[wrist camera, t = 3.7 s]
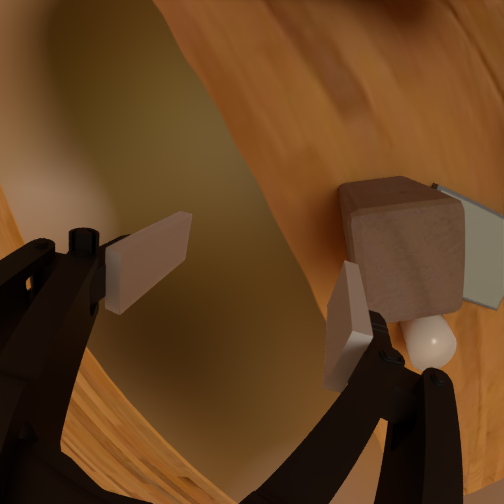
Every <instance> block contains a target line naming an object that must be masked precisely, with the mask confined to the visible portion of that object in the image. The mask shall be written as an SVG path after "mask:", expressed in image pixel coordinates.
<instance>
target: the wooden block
mask: <svg viewBox="0 0 504 504" xmlns="http://www.w3.org/2000/svg"><path fill="white" fill-rule="evenodd" d="M338 195H339V201H340V207H341V214H342V221H343V228H344V236H345V244H346V251H347V257H348V262H352V263H355V264H358V266H359V270H360V274H361V279H362V283H363V288H364V292H365V297H366V302H367V307H368V310H371V311H375V312H378V313H380V314H381V315H382V317H383V318H384V319H385V321H386V323H392V322H399V321H405V320H412V319H418V318H424V317H430V316H436V315H442V314H447V313H453V312H456V311H457V310H459V309H460V308H461V306H462V301H463V289H464V273H465V210H464V207H463V204H462V202H461V200H458V199H456V198H454V197H452V196H450V195H447V194H445V193H443V192H440V191H438V190H436V189H433V188H431V187H429V186H426V185H424V184H421V183H419V182H416V181H414V180H411V179H409V178H406V177H403V176H398V177H390V178H382V179H374V180H366V181H358V182H351V183H344V184H342V185H341V186H339V190H338Z"/></svg>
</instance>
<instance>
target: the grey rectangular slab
mask: <svg viewBox="0 0 504 504" xmlns="http://www.w3.org/2000/svg"><path fill="white" fill-rule="evenodd" d="M432 188H433V189H436V190H438V191H440V192H443V193H445V194H447V195H450V196H452V197H454V198H456V199H458V200H461V202H462V204H463V207H464V210H465V273H464V289H463V299H464V300H467V301H469V302H472V303H475V304H478V305H481V306H484V307H487V308H490V309H493V310H496V311H497V309H498V307H499V305H500V303H501V301H502V299H503V297H504V216H503V215H501V214H499V213H497V212H495V211H493V210H491V209H489V208H487V207H485V206H483V205H481V204H479V203H477V202H475V201H473V200H471V199H469V198H467V197H465V196H463V195H460V194H458V193H456V192H454V191H452V190H449V189H447V188H445V187H442V186H440V185H438V184H435V183H433V186H432Z"/></svg>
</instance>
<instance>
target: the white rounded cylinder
mask: <svg viewBox="0 0 504 504" xmlns="http://www.w3.org/2000/svg"><path fill="white" fill-rule="evenodd" d="M399 324H400V328H401V331H402V334H403V337H404V340H405V343H406V347H407V350H408V353H409V357H410V360H411V363H412V365H413V366H414V367H415V368H416V369H418V370H421V371H424V370H425V369H426V368H430V367H433V368H437V369H438V368H440V367H442V366H444V365H445V364H446V363H447V362H448V361H449V360H450V359H451V358H452V356H453V355H454V353H455V350H456V346H457V343H456V339H455V337H454V335H453V333H452V331H451V329H450V327H449V326H448V324H447V322H446V320H445V318H444V317H443V315H436V316H430V317H424V318H418V319H412V320H405V321H399Z"/></svg>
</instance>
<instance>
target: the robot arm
mask: <svg viewBox="0 0 504 504" xmlns="http://www.w3.org/2000/svg"><path fill="white" fill-rule="evenodd" d="M192 216H193V214H190V213H186V212H183V211H179V212H177V213H175V214H173V215H170V216H168V217H166V218H164V219H162V220H160V221H158V222H156V223H154V224H152V225H150V226H148V227H146V228H144V229H142V230H140V231H138V232H136V233H134V234H132V235H131V234H128V235H124V236H120V237H118V238H116V239H114V240H112V241H110V242H108V243H106V244H104V245H102V246H100V247H99V232H98V231H96V230H94V229H91V228H75V229H72V230H71V231H69V251H68V253H67V254H62V253H57V252H55V243H54V242H53V241H52V240H49V239H46V238H39V239H36V240H33V241H31V242H29V243H27V244H25V245H24V246H22V247H20V248H19V249H17V250H16V251H14V252H12V253H11V254H9V255H8V256H6V257H5V258H3V259H1V260H0V504H153V503H151V502H146V501H142V500H138V499H134V498H130V497H127V496H123V495H119V494H116V493H113V492H109V491H106V490H104V489H102V488H101V487H100V486H99V485H97V484H96V483H95V482H94V481H93V480H92V479H91V478H90V477H89V476H88V475H87V474H86V473H85V472H84V471H83V470H82V469H81V468H80V467H79V466H78V465H77V464H76V463H75V462H74V461H73V460H72V459H71V458H70V457H69V456H67V455H66V454H64V453H63V452H61V446H60V440H61V435H62V430H63V426H64V422H65V417H66V413H67V409H68V406H69V402H70V398H71V394H72V391H73V387H74V384H75V380H76V377H77V373H78V370H79V367H80V363H81V360H82V357H83V354H84V351H85V348H86V345H87V342H88V339H89V336H90V333H91V330H92V327H93V325H94V322H95V319H96V316H97V314H98V311H99V300H101V299H102V298H103V297H105V308H106V309H108V310H110V311H112V312H114V313H116V314H119V315H120V314H121V313H123V312H124V311H125V310H126V309H127V308H128V307H130V306H131V305H132V304H133V303H134V302H135V301H137V300H138V299H139V298H140V297H141V296H142V295H144V294H145V293H146V292H147V291H148V290H149V289H151V288H152V287H153V286H154V285H155V284H157V283H158V282H159V281H160V280H161V279H162V278H164V277H165V276H166V275H167V274H168V273H170V272H171V271H172V270H173V269H174V268H176V267H177V266H178V265H179V264H180V263H181V262H183V261H184V260H185V258H186V251H187V245H188V239H189V233H190V228H191V222H192ZM29 277H30V283H31V288H30V289H29V290H27V288H26V280H27V279H28V278H29ZM326 332H327V333H326V351H325V367H324V381H323V388H324V389H328V390H332V391H336V392H340V393H341V394H340V396H339V397H338V398H337V400H336V401H335V402H334V404H333V405H332V406H331V408H330V409H329V410H328V411H327V413H326V414H325V415H324V416H323V418H322V419H321V420H320V421H319V422H318V424H317V425H316V426H315V427H314V429H313V430H312V431H311V432H310V433H309V434H308V436H307V437H306V438H305V439H304V440H303V441H302V443H301V444H300V445H299V446H298V447H297V448H296V450H295V451H294V452H293V453H292V454H291V455H290V456H289V457H288V458H287V459H286V461H285V462H284V463H283V464H282V465H281V466H280V467H279V468H278V469H277V470H276V471H275V472H274V473H273V474H272V475H271V476H270V477H269V478H268V479H267V480H266V481H265V482H264V483H263V484H262V486H260V487H259V488H258V489H257V490H256V491H253V492H252V493H250V494H249V495H248V496H247V497H246V498H244V499H243V500H242V501H241V502H240V503H239V504H329V503H330V501H331V500H332V498H333V497H334V495H335V494H336V493H337V491H338V489H339V488H340V486H341V485H342V484H343V482H344V480H345V479H346V477H347V476H348V474H349V472H350V471H351V469H352V468H353V466H354V465H355V463H356V461H357V460H358V458H359V456H360V454H361V453H362V451H363V449H364V447H365V446H366V444H367V442H368V440H369V439H370V437H371V435H372V433H373V431H374V429H375V427H376V425H377V424H378V422H379V420H380V418H383V419H385V420H387V421H388V425H387V433H386V440H385V447H384V453H383V460H382V466H381V472H380V477H379V482H378V487H377V491H376V496H375V501H374V504H463V468H462V452H461V440H460V430H459V422H458V414H457V407H456V400H455V394H454V388H453V383H452V381H451V379H450V378H449V376H448V375H447V374H446V373H444V371H442V370H439V369H437V368H433V367H430V368H426V369H425V370H424V371H423V373H422V374H421V375H419V374H417V373H415V372H413V371H411V370H409V369H407V368H405V367H404V365H405V360H404V358H403V356H402V355H401V354H400V353H399V352H398V351H397V350H395V349H394V348H392V344H391V340H390V336H389V334H388V329H387V325H386V321H385V319H384V318H383V317H382V315H381V314H380V313H378V312H375V311H371V310H368V307H367V302H366V297H365V292H364V288H363V283H362V279H361V274H360V270H359V266H358V264H355V263H352V262H348V261H344V263H343V266H342V269H341V271H340V274H339V277H338V279H337V282H336V285H335V287H334V290H333V292H332V295H331V298H330V300H329V303H328V305H327V331H326ZM347 383H348V385H347ZM346 385H347V386H346ZM345 387H346V388H345ZM344 388H345V389H344Z"/></svg>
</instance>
